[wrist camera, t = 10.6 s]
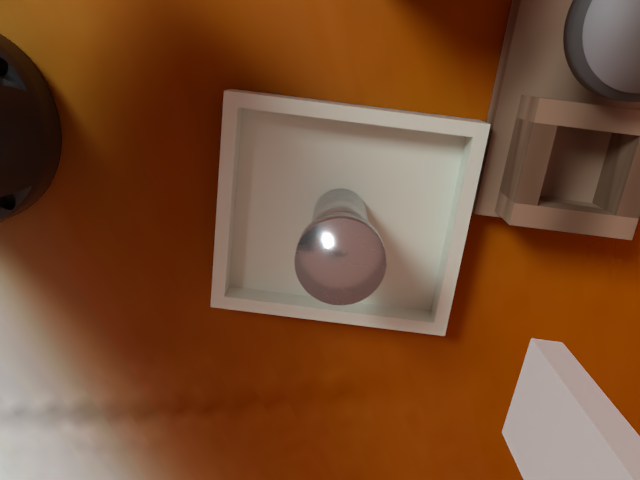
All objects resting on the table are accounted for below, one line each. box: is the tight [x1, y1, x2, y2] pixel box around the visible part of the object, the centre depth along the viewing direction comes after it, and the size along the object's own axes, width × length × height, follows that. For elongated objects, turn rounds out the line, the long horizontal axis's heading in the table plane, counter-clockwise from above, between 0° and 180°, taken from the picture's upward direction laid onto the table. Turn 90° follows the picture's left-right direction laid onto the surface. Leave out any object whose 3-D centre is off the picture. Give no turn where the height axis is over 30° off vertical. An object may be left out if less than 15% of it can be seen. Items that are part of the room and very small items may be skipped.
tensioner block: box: [472, 0, 640, 240], centre depth 34 cm, size 11×17×8 cm, turn 173°
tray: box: [210, 89, 491, 336], centre depth 40 cm, size 18×16×3 cm
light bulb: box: [294, 188, 386, 305], centre depth 35 cm, size 5×5×10 cm
